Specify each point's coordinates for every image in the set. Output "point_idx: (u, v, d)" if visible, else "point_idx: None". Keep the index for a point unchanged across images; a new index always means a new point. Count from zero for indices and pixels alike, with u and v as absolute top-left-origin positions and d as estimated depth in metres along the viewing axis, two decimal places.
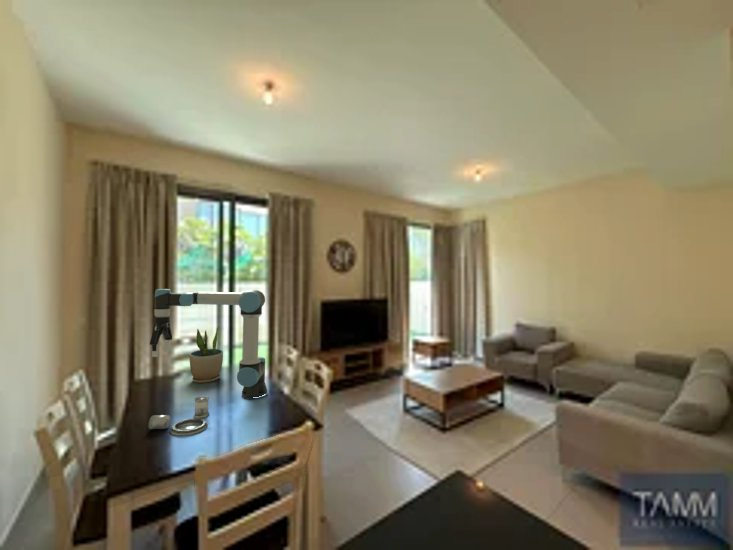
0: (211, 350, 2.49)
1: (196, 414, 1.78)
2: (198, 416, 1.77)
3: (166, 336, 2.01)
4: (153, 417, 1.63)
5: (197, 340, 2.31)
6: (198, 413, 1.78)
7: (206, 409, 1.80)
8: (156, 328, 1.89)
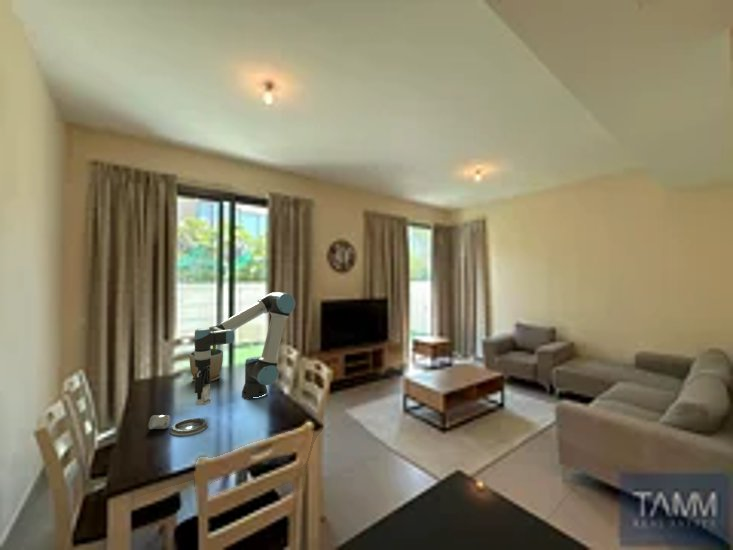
0: (211, 350, 2.49)
1: None
2: None
3: (205, 381, 1.84)
4: (153, 417, 1.63)
5: None
6: None
7: (208, 396, 1.80)
8: (198, 375, 1.74)
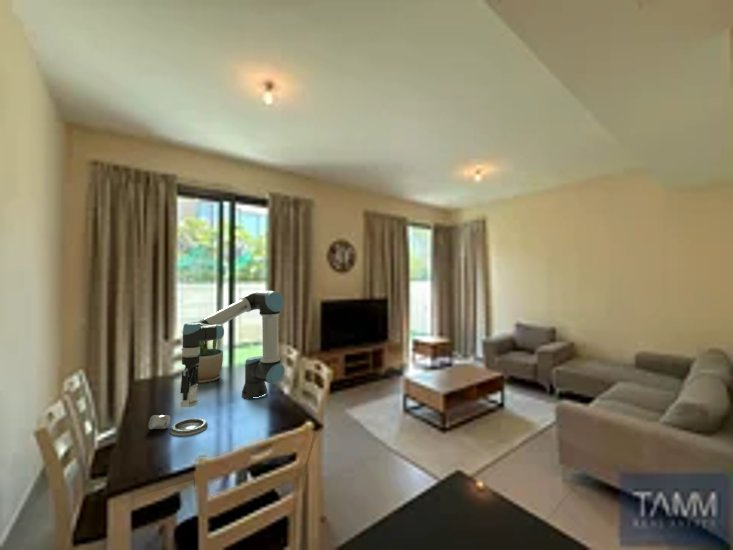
0: (211, 350, 2.50)
1: None
2: None
3: (192, 381, 1.69)
4: (153, 417, 1.63)
5: None
6: None
7: (194, 397, 1.65)
8: (185, 374, 1.59)
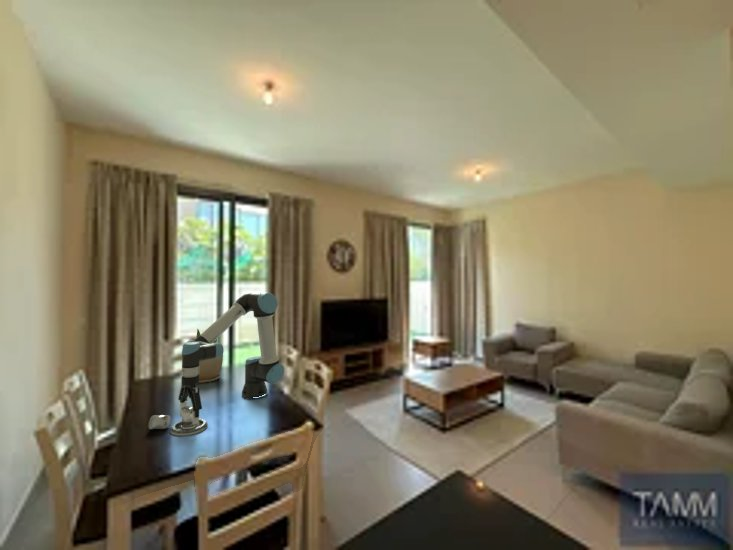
0: None
1: (188, 425, 1.63)
2: (192, 426, 1.63)
3: (184, 398, 1.69)
4: (153, 417, 1.63)
5: None
6: None
7: None
8: (197, 390, 1.62)
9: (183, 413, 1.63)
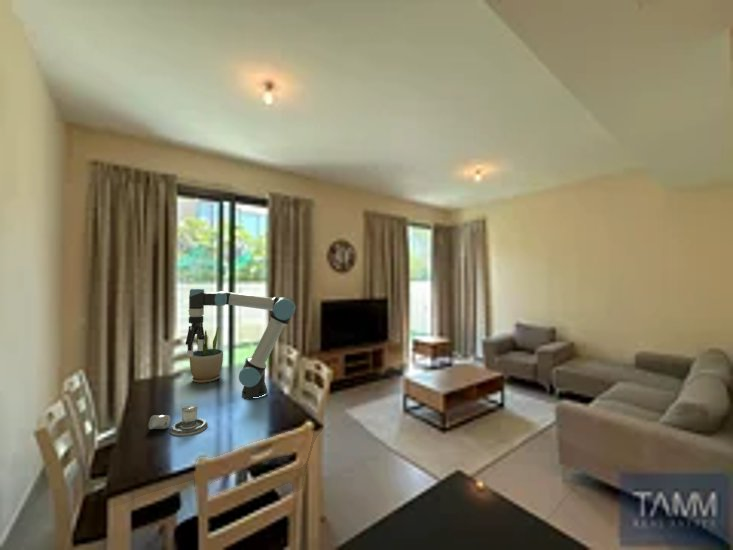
0: (211, 350, 2.49)
1: (188, 425, 1.63)
2: (192, 426, 1.63)
3: (199, 336, 2.01)
4: (153, 417, 1.63)
5: (197, 340, 2.31)
6: (192, 423, 1.64)
7: (196, 417, 1.67)
8: (191, 328, 1.89)
9: (183, 413, 1.63)
